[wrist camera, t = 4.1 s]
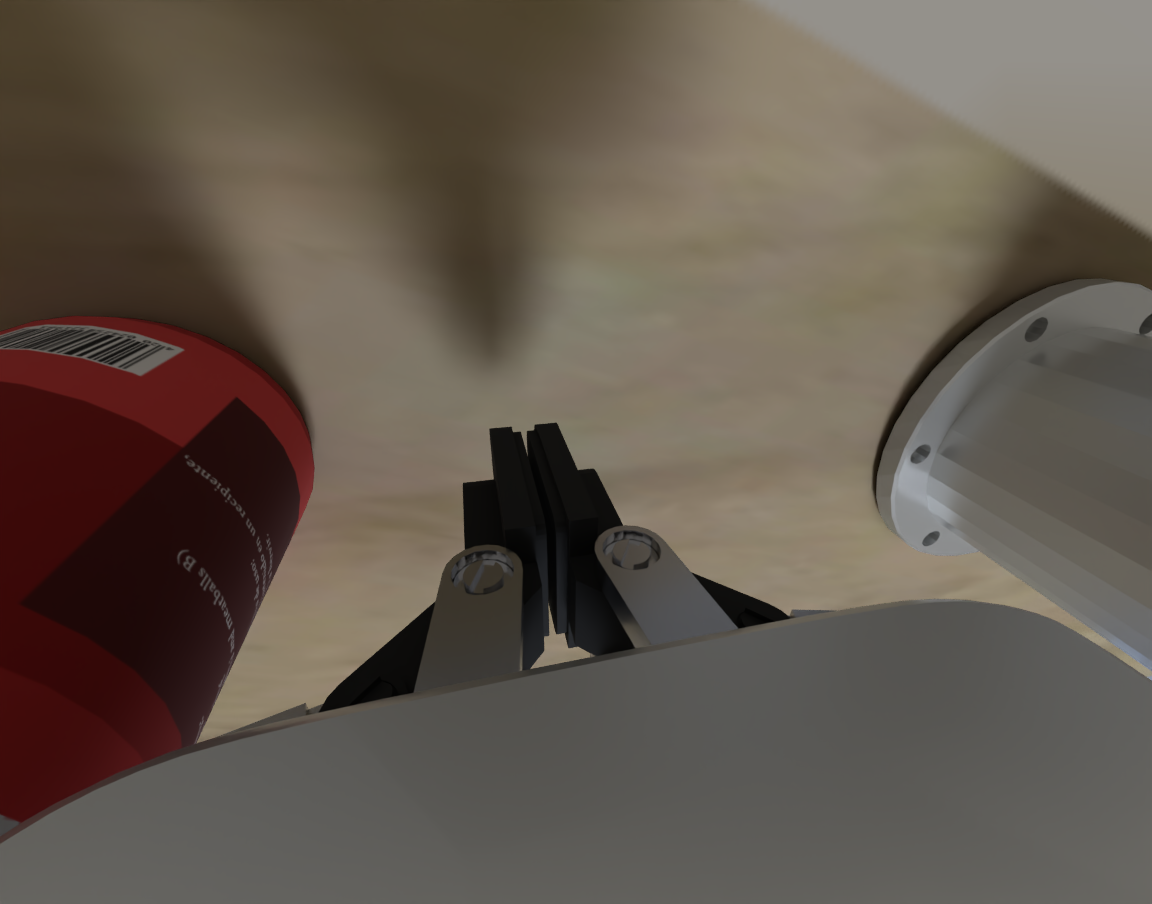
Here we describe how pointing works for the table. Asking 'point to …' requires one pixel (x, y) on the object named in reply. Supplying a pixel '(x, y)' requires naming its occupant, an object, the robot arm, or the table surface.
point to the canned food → (129, 541)
